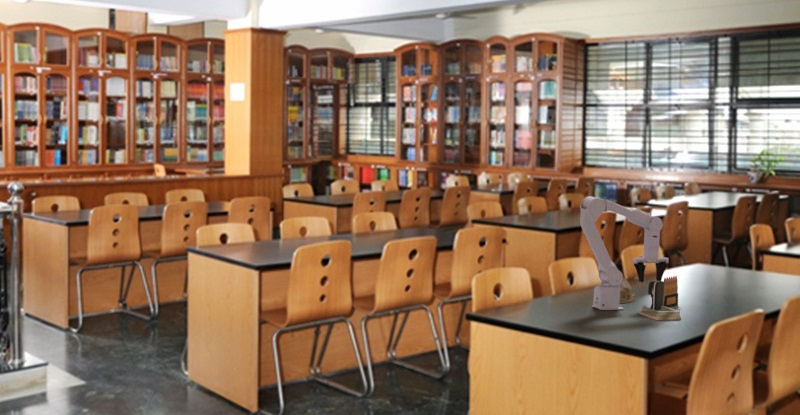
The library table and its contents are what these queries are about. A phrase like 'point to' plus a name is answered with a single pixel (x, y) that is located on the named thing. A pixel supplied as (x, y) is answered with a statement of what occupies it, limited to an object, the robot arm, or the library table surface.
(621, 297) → the ceramic model
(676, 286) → the ammunition clip
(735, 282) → the library table surface
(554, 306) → the library table surface
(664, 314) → the battery dock
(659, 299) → the battery
